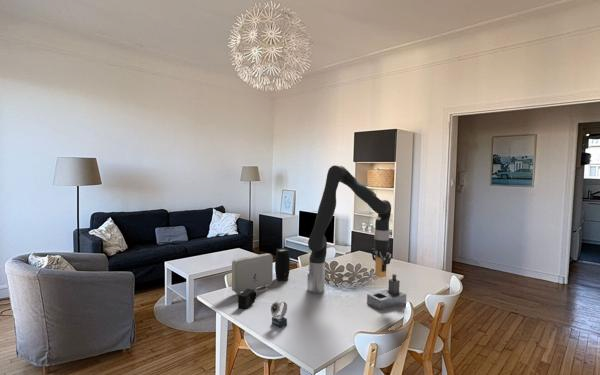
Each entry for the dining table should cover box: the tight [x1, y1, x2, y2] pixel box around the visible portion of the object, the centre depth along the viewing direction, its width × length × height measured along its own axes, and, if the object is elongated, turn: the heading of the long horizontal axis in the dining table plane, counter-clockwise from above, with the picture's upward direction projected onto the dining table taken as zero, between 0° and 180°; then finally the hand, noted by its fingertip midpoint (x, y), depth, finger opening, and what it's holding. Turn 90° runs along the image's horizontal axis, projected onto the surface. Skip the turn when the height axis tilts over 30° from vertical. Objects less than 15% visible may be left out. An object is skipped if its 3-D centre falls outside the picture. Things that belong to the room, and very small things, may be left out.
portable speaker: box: [274, 247, 291, 282], centre depth 212 cm, size 9×9×20 cm
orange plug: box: [374, 257, 387, 279], centre depth 174 cm, size 4×4×13 cm
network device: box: [231, 253, 274, 295], centre depth 192 cm, size 26×9×20 cm, turn 131°
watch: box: [270, 299, 288, 329], centre depth 151 cm, size 6×8×11 cm
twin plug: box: [387, 273, 400, 295], centre depth 179 cm, size 4×4×13 cm
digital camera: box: [237, 289, 257, 310], centre depth 171 cm, size 10×5×7 cm, turn 161°
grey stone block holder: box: [366, 289, 407, 311], centre depth 177 cm, size 19×10×5 cm, turn 119°
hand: (380, 270), depth 174 cm, fingers closed on orange plug, 4 cm apart
